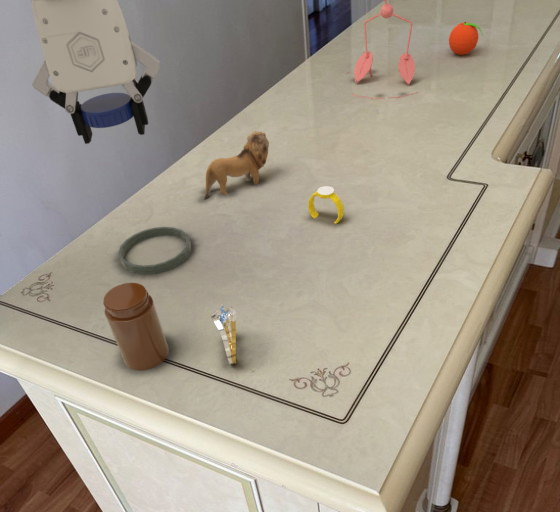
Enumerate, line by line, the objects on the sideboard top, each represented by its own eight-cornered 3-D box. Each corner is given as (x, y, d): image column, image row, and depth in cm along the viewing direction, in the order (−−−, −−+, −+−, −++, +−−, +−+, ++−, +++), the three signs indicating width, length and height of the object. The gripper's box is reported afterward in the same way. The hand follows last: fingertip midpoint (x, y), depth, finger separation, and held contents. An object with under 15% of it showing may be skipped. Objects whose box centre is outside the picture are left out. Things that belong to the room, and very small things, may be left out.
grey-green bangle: (108, 266, 95) (103, 254, 93) (157, 231, 101) (154, 220, 99) (157, 286, 90) (154, 274, 88) (206, 249, 96) (203, 237, 94)
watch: (306, 223, 98) (303, 190, 94) (315, 215, 99) (312, 182, 95) (338, 231, 95) (336, 197, 91) (346, 222, 97) (345, 189, 92)
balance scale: (339, 72, 146) (334, -108, 121) (443, 78, 136) (460, -117, 111) (315, 96, 136) (304, -94, 112) (425, 104, 127) (439, -102, 102)
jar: (116, 365, 78) (89, 302, 70) (147, 338, 81) (124, 275, 74) (148, 380, 75) (124, 317, 68) (179, 352, 78) (159, 288, 71)
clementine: (484, 50, 146) (488, 18, 141) (475, 60, 142) (479, 27, 137) (453, 48, 149) (456, 17, 144) (443, 58, 145) (446, 25, 140)
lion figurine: (263, 171, 113) (257, 124, 106) (279, 180, 109) (274, 133, 103) (197, 199, 108) (186, 151, 101) (211, 210, 104) (201, 161, 98)
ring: (246, 374, 74) (236, 326, 68) (221, 378, 74) (209, 330, 68) (244, 338, 79) (235, 290, 73) (221, 341, 79) (209, 294, 73)
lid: (74, 123, 76) (69, 108, 75) (113, 104, 79) (108, 89, 78) (106, 131, 73) (101, 116, 72) (145, 111, 76) (141, 96, 75)
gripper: (-19, -4, 62) (46, 158, 75) (143, -30, 63) (180, 136, 75) (-4, -20, 68) (54, 134, 80) (144, -43, 68) (179, 114, 81)
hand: (115, 133), depth 78 cm, fingers closed on lid, 6 cm apart
